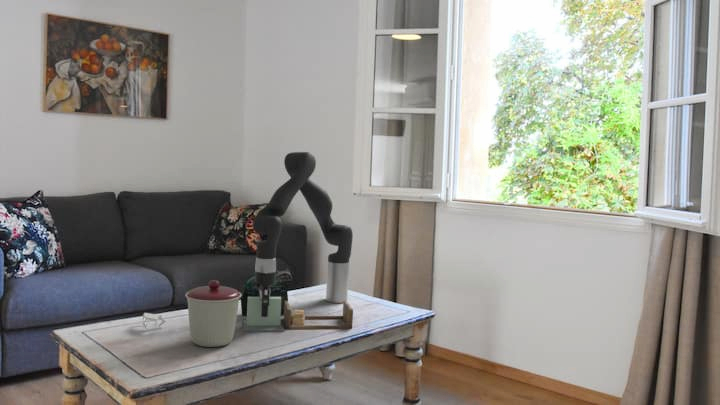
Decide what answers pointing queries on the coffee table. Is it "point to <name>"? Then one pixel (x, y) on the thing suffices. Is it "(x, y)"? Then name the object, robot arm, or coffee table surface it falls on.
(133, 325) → the coffee table surface
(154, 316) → the origami figure
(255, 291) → the green animal sculpture
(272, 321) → the pale green block
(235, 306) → the canister
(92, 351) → the coffee table surface
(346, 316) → the walnut rack
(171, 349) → the coffee table surface
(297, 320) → the offcut block
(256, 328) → the rubber mat
